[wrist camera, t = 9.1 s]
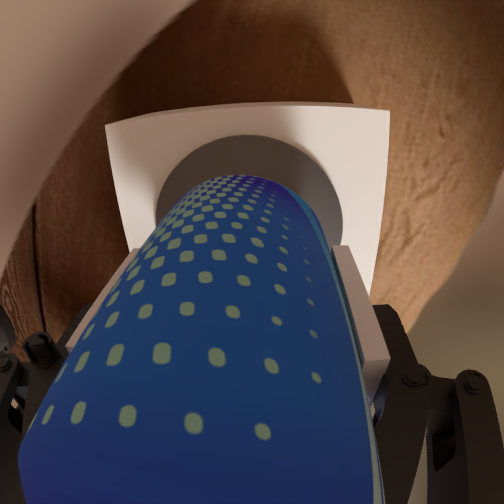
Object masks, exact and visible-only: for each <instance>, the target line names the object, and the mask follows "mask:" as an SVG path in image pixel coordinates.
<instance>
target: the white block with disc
mask: <svg viewBox="0 0 504 504" xmlns="http://www.w3.org/2000/svg"><path fill="white" fill-rule="evenodd" d="M389 120H390V111H388V110H384V109H379V108H374V107H369V106H364V105H358V104H350V103H332V102H254V103H235V104H221V105H210V106H200V107H190V108H182V109H174V110H167V111H160V112H154V113H149V114H145V115H141V116H137V117H133V118H129V119H125V120H122V121H118V122H114V123H111V124H107V125H105V129H106V136H107V143H108V149H109V156H110V162H111V168H112V173H113V179H114V184H115V189H116V194H117V199H118V204H119V209H120V213H121V218H122V222H123V227H124V231H125V235H126V239H127V243H128V247H129V251H130V252H131V251H132V250H133V249H134V248H141V247H142V245H143V244H144V243H145V241H146V240H147V239H148V237H149V236H150V235H151V233H152V232H153V231H154V230H155V228H156V227H157V226H158V224H159V223H160V222H161V221H162V219H163V218H164V217H165V215H166V214H167V213H168V212H169V210H170V209H171V208H172V207H173V205H174V204H175V203H176V202H177V201H178V200H179V199H180V198H181V197H182V196H183V195H184V194H185V193H186V192H188V191H189V190H190V189H192V188H194V187H195V186H197V185H199V184H201V183H203V182H205V181H208V180H211V179H214V178H217V177H222V176H229V175H251V176H257V177H262V178H266V179H269V180H272V181H274V182H277V183H279V184H281V185H283V186H285V187H287V188H289V189H290V190H292V191H293V192H295V193H296V194H297V195H298V196H299V197H301V198H302V199H303V200H304V201H305V202H306V203H307V204H308V205H309V206H310V208H311V209H312V210H313V212H314V213H315V215H316V216H317V218H318V220H319V222H320V224H321V226H322V228H323V231H324V234H325V237H326V241H327V244H328V247H329V250H330V253H331V247H332V245H348V246H349V248H350V250H351V253H352V255H353V258H354V260H355V263H356V265H357V268H358V270H359V273H360V275H361V278H362V280H363V283H364V285H365V288H366V290H367V293H368V296H369V293H370V288H371V283H372V278H373V272H374V267H375V261H376V255H377V248H378V242H379V235H380V228H381V220H382V212H383V204H384V194H385V184H386V173H387V160H388V144H389Z"/></svg>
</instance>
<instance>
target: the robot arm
mask: <svg viewBox="0 0 504 504" xmlns="http://www.w3.org/2000/svg"><path fill="white" fill-rule="evenodd" d="M139 249H140V248H134V249H133V250H132V251H131V252H130V254H129V255H128V256H127V258H126V259H125V260H124V262H123V263H122V264H121V266H120V267H119V268H118V270H117V271H116V272H115V274H114V275H113V277H112V278H111V279H110V281H109V282H108V283H107V285H106V286H105V288H104V289H103V290H102V292H101V293H100V295H99V296H98V297H97V299H96V300H95V302H94V303H90V302H89V303H88V304H86V305H85V306H84V307H83V308H81V309H80V310H79V312H78V313H77V315H76V316H75V317H74V320H72V322H71V323H70V326H68V328H67V329H66V331H65V332H64V333H63V335H62V336H61V338H60V339H59V341H58V343H57V344H56V345H55V343H54V341H53V339H52V338H51V336H50V335H49V333H46V332H38V333H35V334H32V335H31V336H29V337H28V338H27V339H26V340H25V341H24V343H23V345H22V349H23V350H24V352H25V353H26V355H27V357H28V358H29V360H30V361H29V362H20V360H19V359H18V357H17V356H16V355H15V354H13V353H8V352H9V351H10V350H11V348H12V347H13V346H14V344H15V341H16V338H15V333H14V330H13V327H12V325H11V323H10V321H9V319H8V317H7V316H6V314H5V312H4V311H3V309H2V308H1V307H0V504H26V501H25V497H24V492H23V488H22V483H21V478H20V473H19V467H18V452H19V449H20V445H21V443H22V441H23V439H24V437H25V434H26V432H27V430H28V428H29V426H30V424H31V422H32V420H33V418H34V416H35V414H36V413H37V411H38V409H39V407H40V405H41V403H42V401H43V399H44V397H45V396H46V394H47V392H48V390H49V388H50V386H51V385H52V383H53V381H54V379H55V378H56V376H57V374H58V372H59V371H60V369H61V367H62V365H63V364H64V362H65V360H66V359H67V357H68V355H69V354H70V352H71V350H72V349H73V347H74V345H75V344H76V342H77V341H78V339H79V337H80V336H81V334H82V333H83V331H84V329H85V328H86V326H87V325H88V323H89V322H90V320H91V319H92V317H93V315H94V314H95V312H96V311H97V309H98V308H99V306H100V305H101V303H102V302H103V300H104V299H105V297H106V296H107V294H108V293H109V292H110V290H111V289H112V287H113V286H114V284H115V283H116V281H117V280H118V279H119V277H120V276H121V274H122V273H123V271H124V270H125V269H126V267H127V266H128V264H129V263H130V262H131V260H132V259H133V258H134V256H135V255H136V254H137V252H138V251H139ZM331 257H332V260H333V263H334V267H335V270H336V273H337V277H338V280H339V284H340V287H341V291H342V294H343V298H344V302H345V305H346V309H347V313H348V317H349V320H350V324H351V328H352V332H353V336H354V340H355V344H356V348H357V352H358V356H359V360H360V365H361V369H362V373H363V378H364V382H365V387H366V392H367V396H368V401H369V406H370V408H371V405H372V403H374V408H375V414H374V416H373V418H372V421H373V427H374V432H375V437H376V443H377V449H378V455H379V461H380V467H381V474H382V481H383V488H384V496H385V504H407V503H408V500H409V496H410V493H411V490H412V486H413V483H414V479H415V475H416V472H417V467H418V464H419V459H420V455H421V450H422V446H423V441H424V436H425V434H426V444H427V473H428V474H427V476H428V477H427V478H428V479H427V482H428V483H427V485H428V486H427V488H428V489H427V504H504V448H503V443H502V438H501V432H500V427H499V422H498V418H497V413H496V408H495V404H494V400H493V396H492V393H491V389H490V386H489V383H488V381H487V379H486V378H485V376H484V375H483V374H481V373H480V372H477V371H476V370H464V371H462V372H461V373H459V374H458V376H457V377H456V379H449V378H441V377H436V376H433V375H431V373H430V372H429V370H428V369H427V368H426V367H424V366H423V365H421V364H418V362H417V359H416V357H415V354H414V352H413V349H412V347H411V345H410V342H409V339H408V337H407V335H406V333H405V330H404V327H403V325H401V320H400V318H399V316H398V313H397V312H396V311H395V310H394V309H393V308H392V307H391V306H390V305H389V304H385V305H372V304H371V301H370V298H369V296H368V293H367V290H366V288H365V285H364V283H363V280H362V278H361V275H360V273H359V270H358V268H357V265H356V263H355V260H354V258H353V255H352V253H351V250H350V248H349V246H348V245H332V247H331ZM12 399H14V400H15V401H16V402H17V403H18V406H17V407H16V409H15V408H14V407H13V406H12V405H11V402H12Z"/></svg>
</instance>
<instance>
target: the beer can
mask: <svg viewBox="0 0 504 504" xmlns="http://www.w3.org/2000/svg"><path fill="white" fill-rule="evenodd" d="M18 467H19V473H20V478H21V483H22V488H23V492H24V497H25V501H26V504H385V496H384V488H383V481H382V474H381V467H380V461H379V455H378V449H377V443H376V437H375V432H374V427H373V421H372V416H371V411H370V406H369V401H368V396H367V392H366V387H365V382H364V378H363V373H362V369H361V365H360V360H359V356H358V352H357V348H356V344H355V340H354V336H353V332H352V328H351V324H350V320H349V317H348V313H347V309H346V305H345V302H344V298H343V294H342V291H341V287H340V284H339V280H338V277H337V273H336V270H335V267H334V263H333V260H332V257H331V253H330V250H329V247H328V244H327V241H326V237H325V234H324V231H323V228H322V226H321V224H320V222H319V220H318V218H317V216H316V215H315V213H314V212H313V210H312V209H311V208H310V206H309V205H308V204H307V203H306V202H305V201H304V200H303V199H302V198H301V197H299V196H298V195H297V194H296V193H295V192H293V191H292V190H290V189H289V188H287V187H285V186H283V185H281V184H279V183H277V182H274V181H272V180H269V179H266V178H262V177H257V176H251V175H229V176H222V177H217V178H214V179H211V180H208V181H205V182H203V183H201V184H199V185H197V186H195V187H194V188H192V189H190V190H189V191H188V192H186V193H185V194H184V195H183V196H182V197H181V198H180V199H179V200H178V201H177V202H176V203H175V204H174V205H173V207H172V208H171V209H170V210H169V212H168V213H167V214H166V215H165V217H164V218H163V219H162V221H161V222H160V223H159V224H158V226H157V227H156V228H155V230H154V231H153V232H152V233H151V235H150V236H149V237H148V239H147V240H146V241H145V243H144V244H143V245H142V247H141V248H140V249H139V251H138V252H137V254H136V255H135V256H134V258H133V259H132V260H131V262H130V263H129V264H128V266H127V267H126V269H125V270H124V271H123V273H122V274H121V276H120V277H119V279H118V280H117V281H116V283H115V284H114V286H113V287H112V289H111V290H110V292H109V293H108V294H107V296H106V297H105V299H104V300H103V302H102V303H101V305H100V306H99V308H98V309H97V311H96V312H95V314H94V315H93V317H92V319H91V320H90V322H89V323H88V325H87V326H86V328H85V329H84V331H83V333H82V334H81V336H80V337H79V339H78V341H77V342H76V344H75V345H74V347H73V349H72V350H71V352H70V354H69V355H68V357H67V359H66V360H65V362H64V364H63V365H62V367H61V369H60V371H59V372H58V374H57V376H56V378H55V379H54V381H53V383H52V385H51V386H50V388H49V390H48V392H47V394H46V396H45V397H44V399H43V401H42V403H41V405H40V407H39V409H38V411H37V413H36V414H35V416H34V418H33V420H32V422H31V424H30V426H29V428H28V430H27V432H26V434H25V437H24V439H23V441H22V443H21V445H20V449H19V452H18Z"/></svg>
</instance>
